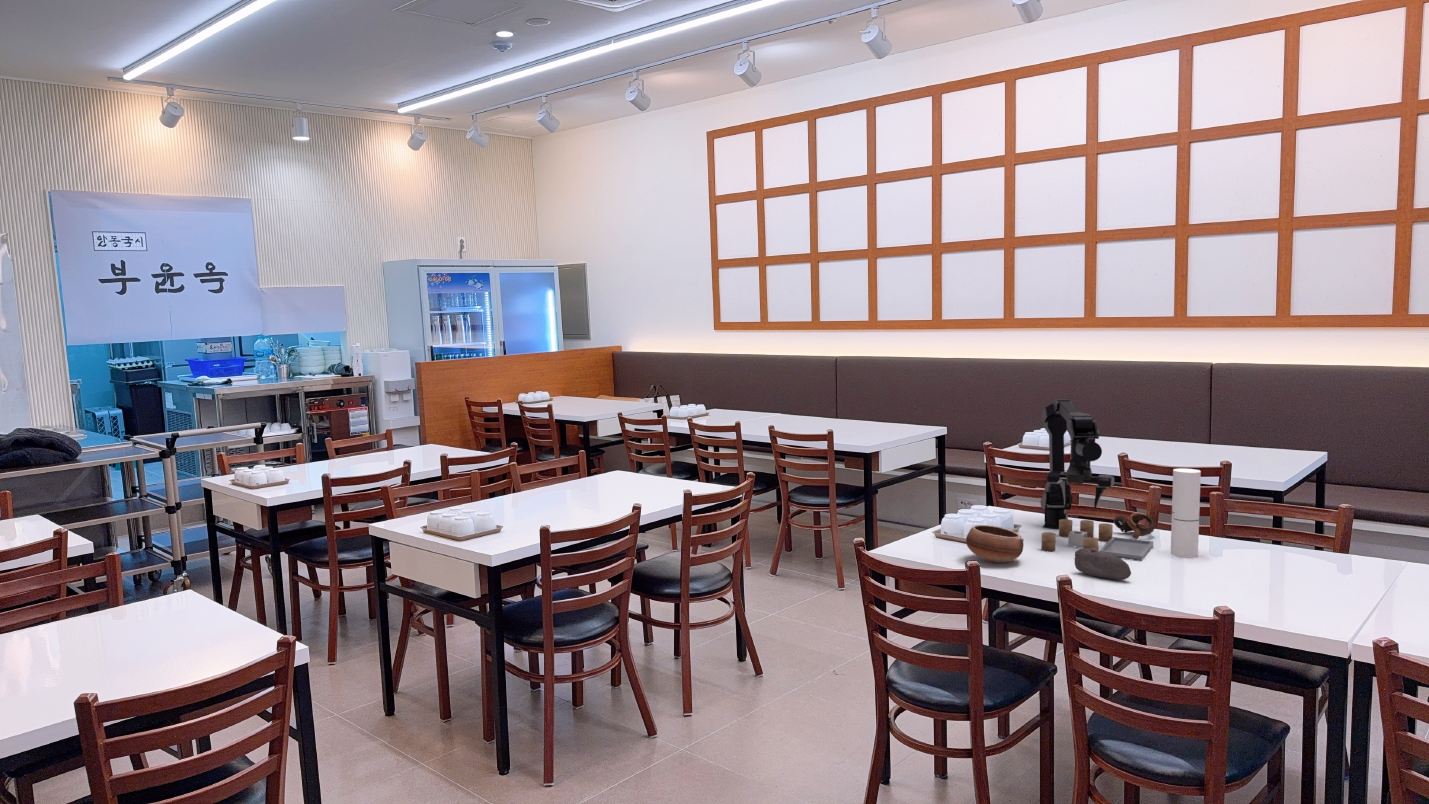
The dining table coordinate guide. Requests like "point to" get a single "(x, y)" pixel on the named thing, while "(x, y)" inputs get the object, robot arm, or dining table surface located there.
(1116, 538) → the slate tray
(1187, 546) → the cylindrical container
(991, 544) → the bowl
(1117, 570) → the perforated stone tool
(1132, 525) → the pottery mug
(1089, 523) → the posts
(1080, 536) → the steel nut
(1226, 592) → the dining table surface
